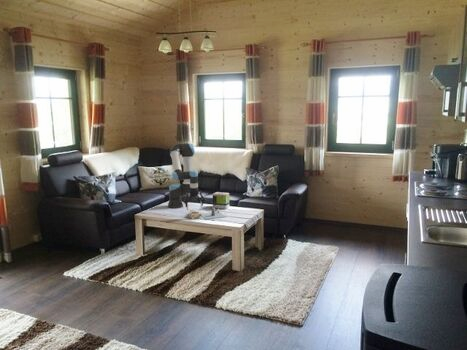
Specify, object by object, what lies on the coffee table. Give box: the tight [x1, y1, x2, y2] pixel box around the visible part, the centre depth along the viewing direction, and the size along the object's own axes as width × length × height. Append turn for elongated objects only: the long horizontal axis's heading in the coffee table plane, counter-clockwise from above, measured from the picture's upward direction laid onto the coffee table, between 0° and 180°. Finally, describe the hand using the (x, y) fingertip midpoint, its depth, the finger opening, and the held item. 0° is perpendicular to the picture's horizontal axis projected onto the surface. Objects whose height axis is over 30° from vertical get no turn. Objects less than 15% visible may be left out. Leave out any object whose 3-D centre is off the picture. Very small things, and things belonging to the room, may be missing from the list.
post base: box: [200, 207, 227, 220], centre depth 349 cm, size 16×20×8 cm
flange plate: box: [188, 209, 202, 220], centre depth 348 cm, size 17×8×4 cm, turn 23°
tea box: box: [212, 191, 230, 210], centre depth 378 cm, size 15×10×15 cm
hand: (194, 209), depth 345 cm, fingers open, 13 cm apart
